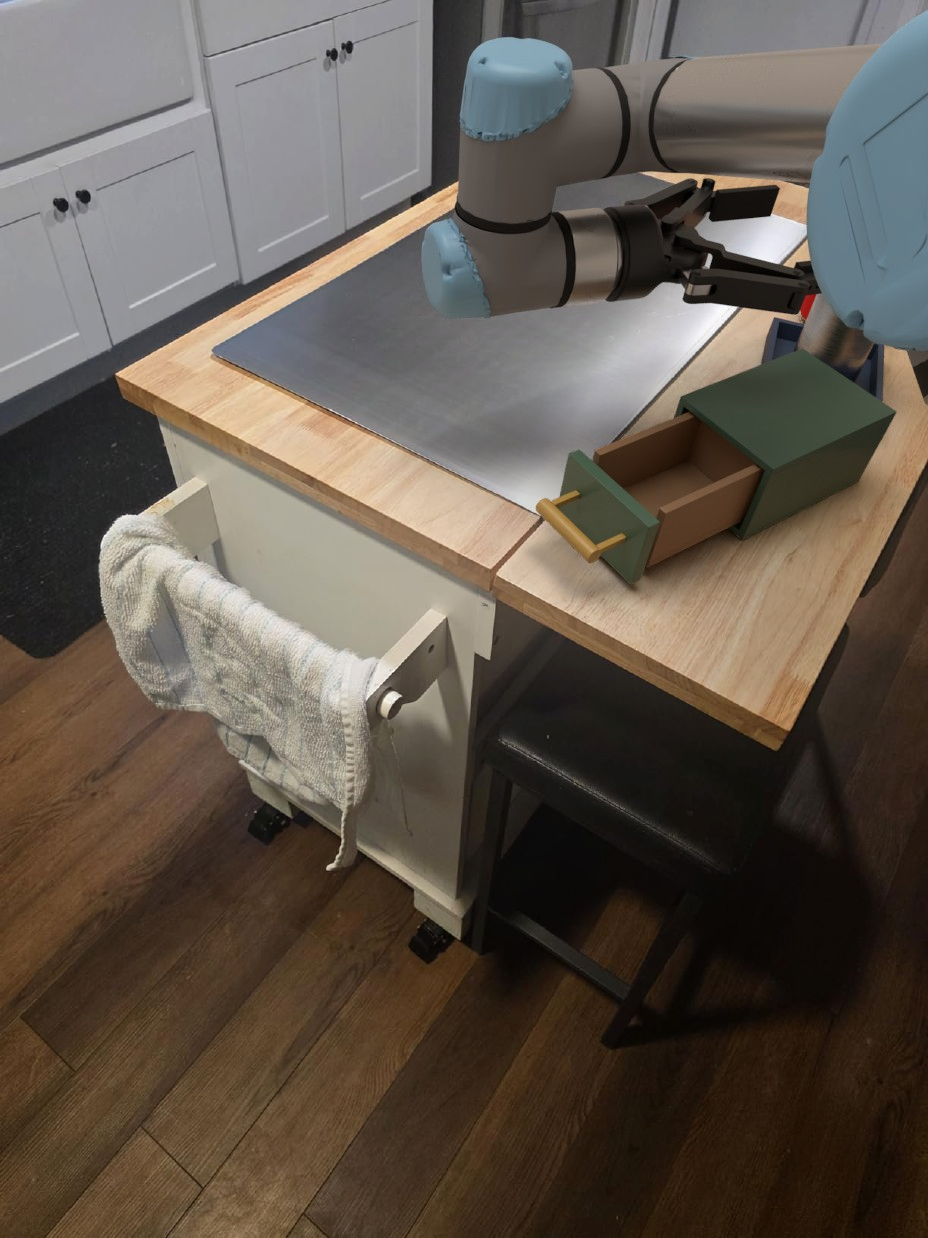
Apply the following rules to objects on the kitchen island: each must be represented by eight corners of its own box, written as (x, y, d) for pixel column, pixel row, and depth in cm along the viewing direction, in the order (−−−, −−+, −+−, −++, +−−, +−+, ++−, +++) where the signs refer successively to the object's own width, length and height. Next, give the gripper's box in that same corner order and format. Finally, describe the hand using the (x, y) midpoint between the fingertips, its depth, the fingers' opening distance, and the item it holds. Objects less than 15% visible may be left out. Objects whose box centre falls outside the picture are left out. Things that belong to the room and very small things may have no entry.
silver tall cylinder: (866, 389, 95) (928, 267, 84) (821, 409, 92) (879, 285, 81) (814, 354, 99) (866, 233, 88) (768, 372, 96) (817, 249, 85)
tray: (871, 441, 90) (882, 420, 88) (751, 410, 92) (759, 390, 90) (874, 362, 100) (884, 342, 98) (766, 336, 101) (774, 316, 100)
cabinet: (741, 540, 79) (774, 469, 72) (657, 468, 85) (680, 396, 78) (858, 481, 85) (897, 411, 79) (773, 418, 91) (802, 347, 85)
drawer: (591, 604, 71) (608, 546, 66) (518, 528, 77) (528, 469, 71) (757, 521, 79) (782, 464, 74) (680, 458, 84) (699, 400, 79)
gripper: (542, 229, 85) (731, 212, 90) (658, 377, 70) (876, 346, 75) (554, 147, 79) (755, 134, 84) (683, 290, 64) (917, 263, 70)
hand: (813, 234), depth 80 cm, fingers open, 13 cm apart
